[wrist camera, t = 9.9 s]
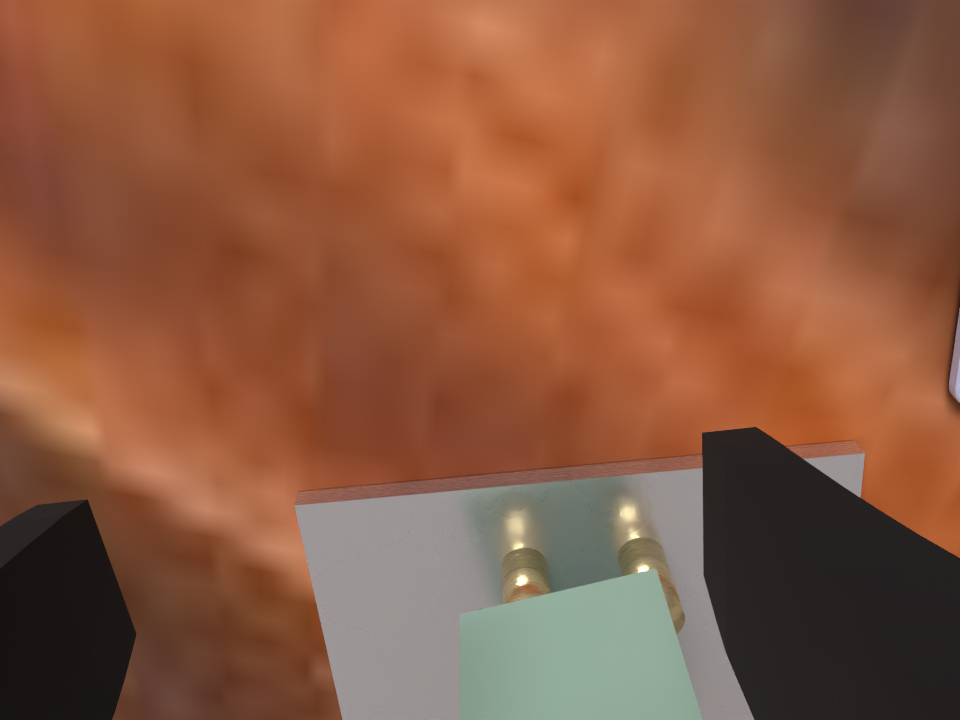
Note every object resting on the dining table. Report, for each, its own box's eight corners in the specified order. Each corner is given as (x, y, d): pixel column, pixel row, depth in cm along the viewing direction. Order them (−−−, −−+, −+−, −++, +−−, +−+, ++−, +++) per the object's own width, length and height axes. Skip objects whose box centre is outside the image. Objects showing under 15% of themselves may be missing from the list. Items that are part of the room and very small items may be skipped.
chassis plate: (855, 440, 22) (864, 453, 22) (822, 777, 27) (829, 794, 27) (298, 491, 23) (294, 505, 22) (369, 814, 28) (368, 832, 27)
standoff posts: (663, 535, 23) (685, 598, 20) (666, 763, 26) (684, 838, 24) (498, 549, 23) (502, 614, 21) (523, 775, 26) (528, 850, 24)
